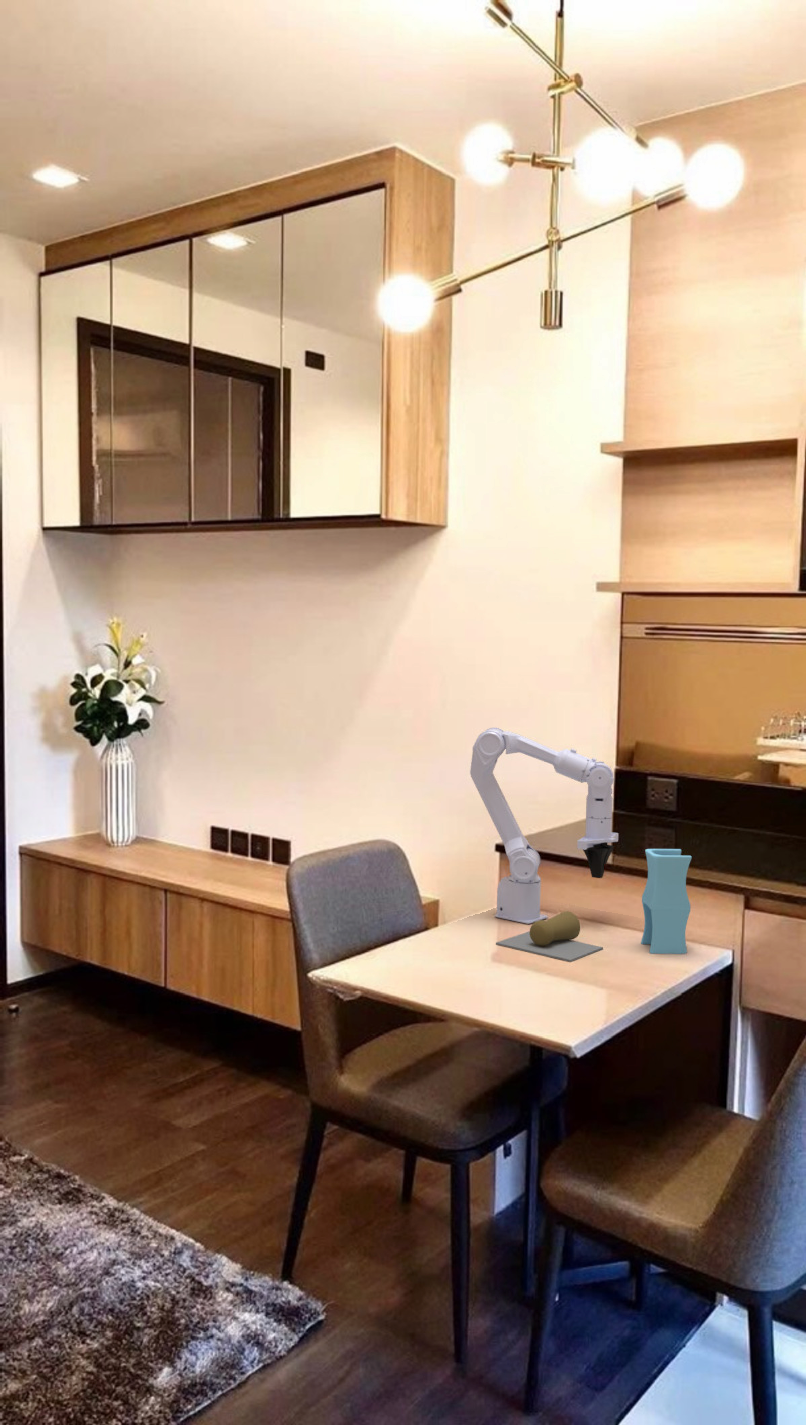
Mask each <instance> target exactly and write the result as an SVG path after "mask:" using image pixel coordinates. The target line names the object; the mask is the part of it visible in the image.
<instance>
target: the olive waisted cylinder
mask: <svg viewBox="0 0 806 1425" xmlns="http://www.w3.org/2000/svg"><path fill="white" fill-rule="evenodd" d="M529 931H530V937H531V939H532V941H533V942H534V943H535V944H537V945H539V946H546V945H548V944H550V943H551V942H552V941H561V940H572V941H573V940H575V939H577V937H579V935H580V932H581V923H580V920H579V918H578V916H577V915H576V914H575V913H574V912H572V911H568V910H565V911H562V912H560V913H559V914H557V915H554V916H553V917H550V918H549V919H547V920H545V919H542V920H539V921H536V922H533V923H531V926H530V928H529Z"/></svg>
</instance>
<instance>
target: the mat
mask: <svg viewBox="0 0 806 1425" xmlns="http://www.w3.org/2000/svg"><path fill="white" fill-rule="evenodd" d="M495 945H496V946H501V947H505V948H510V949H513V950H519V951H523V952H525V953H526V952H527V953H531V954H534V955H535V954H536V955H539V956H544V957H548V958H552V959H556V960H560V961H565V962H569V963H571V962H574V961H577V960H579V959H583V958H584V957H587V956H590V955H592V954H594V953H597V952H600V951H602V950H604V946H603V947H602V946H599V945H594V944H592V943H591V944H590V943H585V942H580V941H577V940H576V941H575V940H573V939H572V940H561V941H552V942H551V943H550V944H548V945H546V946H539V945H537V944H535V943H534V942H533V941H532V939H531V937H530V930H529V931H526V932H523V933H520V934H517V935H514V936H512V937H508V938H504V939H502V940H499V941H496V942H495Z"/></svg>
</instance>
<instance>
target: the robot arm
mask: <svg viewBox="0 0 806 1425" xmlns="http://www.w3.org/2000/svg"><path fill="white" fill-rule="evenodd" d="M504 751H505V755H510V754H517V753H518V754H519V753H520V754H523V755H526V756H529V757H531V758H534V759H536V760H539V761H542V762H544V763H547V764H550V765H552V766H553V769H554V771H555V773H557V774H559V775H562V776H565V777H567V778H569V779H571V780H574V781H577V782H579V783H580V784H581V783H587V795H586V799H585V800H586V801H585V802H586V807H585V835H584V836H582V837H581V838H580V839H577V840H576V842H577V844H576V845H577V846H576V848H577V849H578V850H582V851H583V853H584V854H585V856H586V858H587V862H588V867H589V871H590V875H591V878H595V879H603V878H604V874H605V871H604V865H605V864H606V863H608V860H609V858H610V855H611V854H612V853H613V851H614V845H610V843H617V842H619V833H618V832H612V831H613V830H612V827H613V826H612V823H613V821H612V820H613V796H612V794H613V788H612V786H613V784H614V780H615V779H614V773H613V770H612V768H611V767H610V766H609V765H608V764H607V763H605V762H604V761H597V758H595V757H591V758H589V757H588V756H585V755H583V754H579V753H578V751H577V749H575V748H573V747H572V748H571V749H568V748H564V749H562V750H560V751H557V750H555V749H552V748H550V747H548V746H546V745H543V744H541V743H539V742H537V741H535V740H533V739H530V738H528V737H526V736H524V735H521V734H518V733H515V732H513V731H510V730H503V729H501V728H499V727H490V728H489V727H488V728H487V729H486V730H485V731H482V732H481V733H480V734H479V735H478V736H477V738H476V740H475V742H474V744H473V746H472V755H471V761H470V770H469V774H470V777H471V779H472V782H473V784H474V785H475V788H476V789H477V792H478V794H479V796H480V798H481V800H482V802H483V804H484V806H485V808H486V810H487V812H488V814H489V816H490V819H491V820H492V822H493V825H494V827H495V828H496V831H497V833H498V835H499V837H500V839H501V841H502V843H503V845H504V849H505V854H506V857H507V858H508V861H509V872H510V874H509V876H504V877H502V878H501V879H500V880H499V883H498V885H497V888H496V889H497V890H496V894H497V895H496V913H495V914H494V917H496V918H498V919H504V920H509V921H513V922H518V923H522V924H528V925H529V924H533V923H535V922H536V921H540V920H545V919H548V918H549V917H548V915H547V914H541V891H542V890H541V889H542V888H541V887H542V886H541V884H542V878H541V877H540V876H539V874H538V871H539V867H540V866H541V856H540V854H539V852H538V851H537V850H535V849H534V848H533V847H532V846H531V845H530V843H529V841H528V839H527V838H526V837H525V836H524V834H523V833H522V830H521V828H520V826H519V824H518V822H517V819H516V818H515V816H514V814H513V811H512V809H511V807H510V805H509V803H508V800H507V799H506V797H505V796H504V792H503V790H502V789H501V787H500V785H499V783H498V780H497V779H496V777H495V776H496V775H494V770H495V767H496V765H497V762H498V759H499V758H500V756H502V754H503V753H504ZM606 865H607V864H606Z"/></svg>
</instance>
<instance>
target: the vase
mask: <svg viewBox="0 0 806 1425" xmlns="http://www.w3.org/2000/svg"><path fill="white" fill-rule="evenodd" d="M644 851H645V856H646V864H647V879H646V880H647V881H646V884H645V888H644V890H643V893H642V896H641V903H642V909H643V916H644V927H643V934H642V937H641V940H640V944H641V945H650V947H649V948H650V949H649V954H650V955H651V954H652V955H653V954H654V955H655V954H656V955H657V954H660V955H661V954H662V955H663V954H664V955H665V954H666V955H667V954H668V955H671V954H672V955H673V954H675V955H678V954H679V955H683V954H684V955H685V954H687V953H688V950H687V943H686V929H687V924H688V920H689V916H690V913H691V909H692V908H691V907H692V906H691V903H690V899H689V896H688V891H687V885H686V884H687V876H688V874H687V873H688V871H689V870H688V869H689V867H690V863H691V861H692V856H691V855H682V849H681V848H647V849H645V850H644Z"/></svg>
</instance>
